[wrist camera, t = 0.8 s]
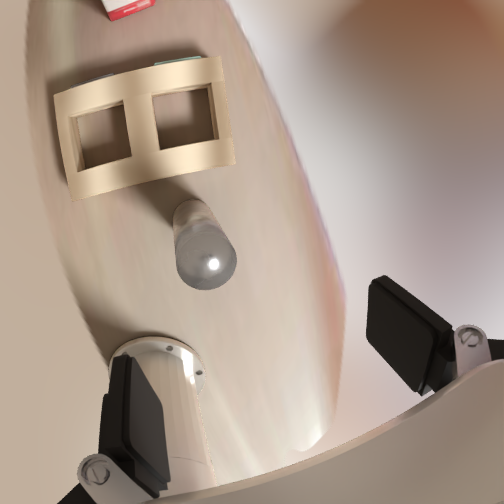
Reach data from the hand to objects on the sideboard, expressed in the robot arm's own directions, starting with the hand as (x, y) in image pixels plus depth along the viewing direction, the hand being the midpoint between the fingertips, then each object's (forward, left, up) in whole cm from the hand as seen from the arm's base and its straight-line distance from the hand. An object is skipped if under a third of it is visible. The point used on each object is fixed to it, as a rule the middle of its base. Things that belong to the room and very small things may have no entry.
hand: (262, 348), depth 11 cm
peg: (-1, 0, -21) cm, 21 cm away
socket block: (+6, +8, -21) cm, 23 cm away
